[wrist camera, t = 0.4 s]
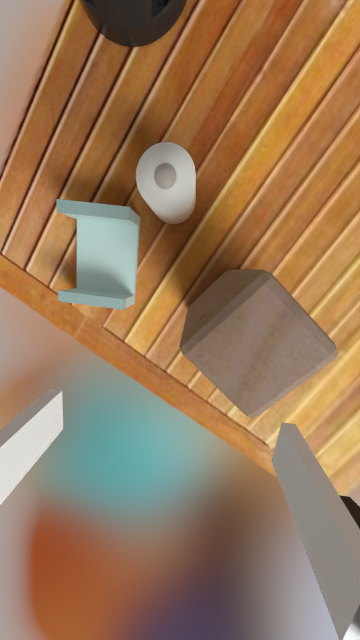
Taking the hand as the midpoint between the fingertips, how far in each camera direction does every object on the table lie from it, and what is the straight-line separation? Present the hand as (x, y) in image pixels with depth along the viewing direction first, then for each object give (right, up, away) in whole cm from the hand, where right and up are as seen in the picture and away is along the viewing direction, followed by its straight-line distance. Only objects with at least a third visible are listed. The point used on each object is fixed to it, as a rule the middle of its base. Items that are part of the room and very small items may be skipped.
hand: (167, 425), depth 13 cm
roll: (0, +25, +21) cm, 33 cm away
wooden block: (+9, +8, +25) cm, 27 cm away
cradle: (-11, +17, +24) cm, 31 cm away
